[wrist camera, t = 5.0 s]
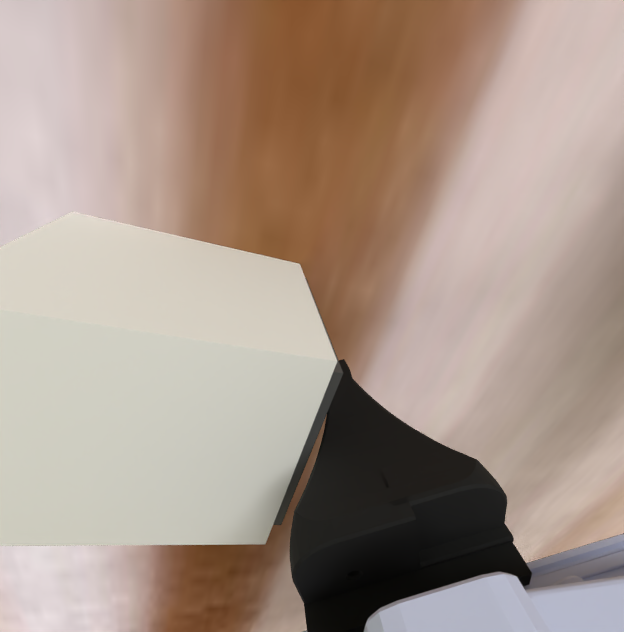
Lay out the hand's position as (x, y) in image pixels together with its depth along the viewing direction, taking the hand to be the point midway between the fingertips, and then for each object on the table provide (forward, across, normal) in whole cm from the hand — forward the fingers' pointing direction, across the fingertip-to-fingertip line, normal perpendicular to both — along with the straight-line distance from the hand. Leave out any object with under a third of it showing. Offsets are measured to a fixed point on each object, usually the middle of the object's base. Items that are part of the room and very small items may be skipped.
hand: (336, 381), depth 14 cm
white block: (+2, +5, -3) cm, 6 cm away
